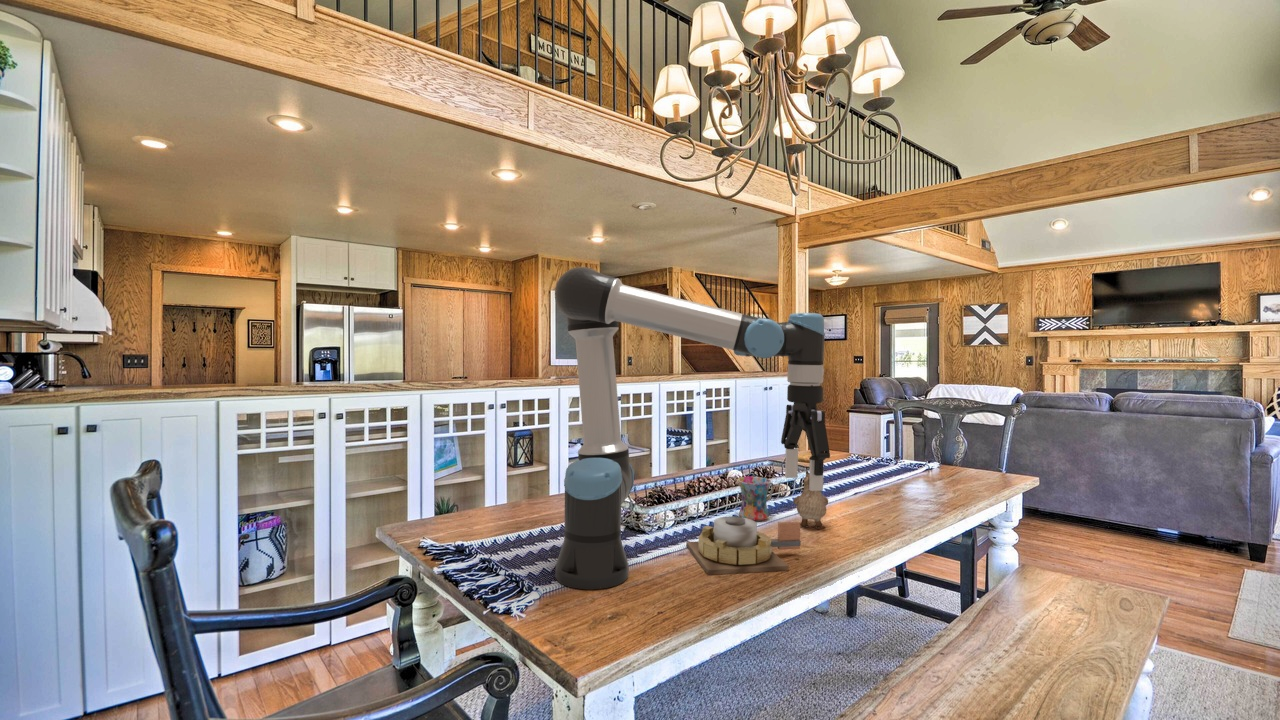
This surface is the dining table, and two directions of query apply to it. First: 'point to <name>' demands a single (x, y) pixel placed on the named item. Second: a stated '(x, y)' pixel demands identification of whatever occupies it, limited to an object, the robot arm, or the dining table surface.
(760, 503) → the mug
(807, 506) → the figurine
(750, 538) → the housing
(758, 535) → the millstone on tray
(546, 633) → the dining table surface
